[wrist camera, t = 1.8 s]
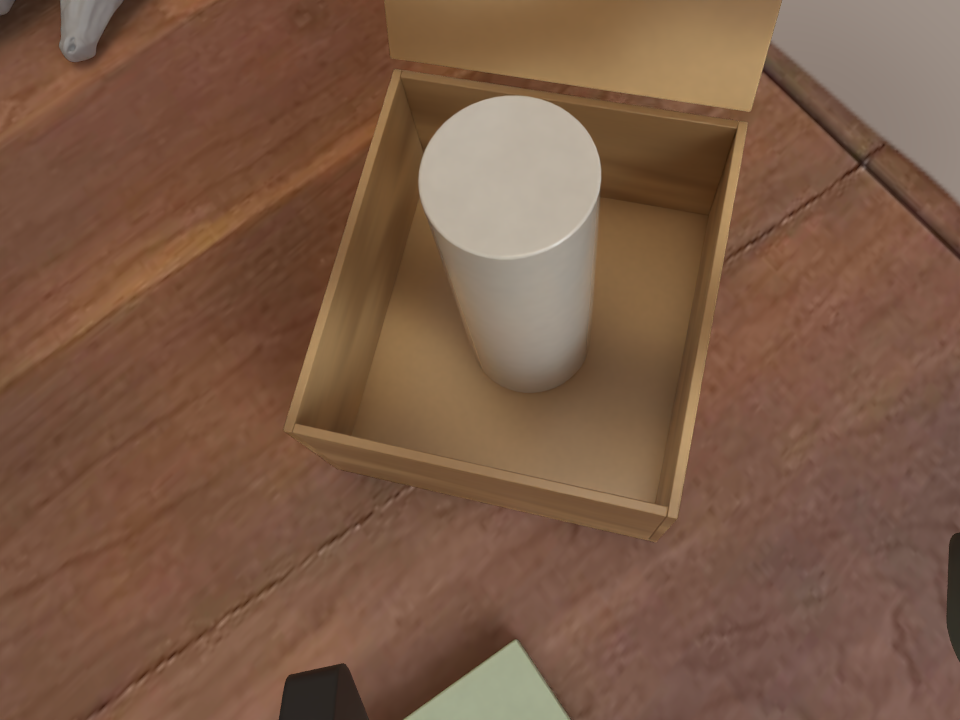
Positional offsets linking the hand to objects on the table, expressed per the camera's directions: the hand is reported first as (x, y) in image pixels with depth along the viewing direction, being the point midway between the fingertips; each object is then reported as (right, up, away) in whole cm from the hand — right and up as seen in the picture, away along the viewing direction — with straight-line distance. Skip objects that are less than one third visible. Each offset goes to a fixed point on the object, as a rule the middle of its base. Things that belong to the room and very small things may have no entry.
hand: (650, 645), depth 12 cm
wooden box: (0, +5, +21) cm, 22 cm away
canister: (0, +5, +21) cm, 21 cm away
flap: (0, +14, +14) cm, 20 cm away
